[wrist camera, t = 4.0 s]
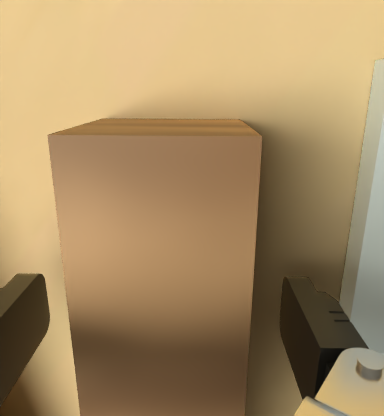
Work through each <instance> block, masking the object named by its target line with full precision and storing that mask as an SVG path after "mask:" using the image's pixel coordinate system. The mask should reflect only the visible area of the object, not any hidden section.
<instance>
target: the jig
mask: <svg viewBox="0 0 384 416" xmlns="http://www.w3.org/2000/svg"><path fill="white" fill-rule="evenodd" d="M339 304H340V306H341V307H342V309H343V310H344V313H346V315H347V316H348V318H349V319H350V322H352V324H353V325H354V327H355V328H356V330H357V331H358V333H359V334H360V336H361V337H362V339H363V340H364V342H365V343H366V345H367V346H368V348H369V349H370V350H373V351H376V352H378V353H381V354H383V355H384V59H379V60H375V65H374V72H373V78H372V85H371V92H370V99H369V105H368V112H367V119H366V126H365V132H364V139H363V146H362V152H361V159H360V166H359V173H358V179H357V186H356V193H355V199H354V206H353V213H352V220H351V226H350V233H349V240H348V246H347V253H346V260H345V267H344V273H343V280H342V287H341V294H340V300H339Z"/></svg>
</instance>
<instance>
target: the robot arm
mask: <svg viewBox="0 0 384 416" xmlns="http://www.w3.org/2000/svg"><path fill="white" fill-rule="evenodd" d="M49 321H50V313H49V306H48V298H47V291H46V284H45V278H44V276H43V275H42V274H17V275H16V276H15V277H14V278H13V279H12V280H11V281H10V282H9V283H8V284H7V285H6V286H5V287H4V288H0V407H1V405H2V403H3V402H4V400H5V399H6V397H7V395H8V394H9V392H10V391H11V389H12V387H13V386H14V384H15V383H16V381H17V379H18V378H19V376H20V375H21V373H22V371H23V370H24V368H25V367H26V365H27V363H28V362H29V360H30V359H31V357H32V355H33V354H34V352H35V351H36V349H37V347H38V346H39V344H40V343H41V341H42V339H43V338H44V336H45V335H46V333H47V330H48V327H49ZM280 332H281V337H282V340H283V343H284V346H285V349H286V352H287V355H288V358H289V361H290V364H291V367H292V370H293V373H294V375H295V378H296V381H297V384H298V387H299V390H300V393H301V396H302V399H303V401H302V403H301V404H300V406H299V408H298V409H297V411H296V413H295V414H294V416H384V355H383V354H381V353H378V352H376V351H373V350H370V349H369V348H368V346H367V345H366V343H365V342H364V340H363V339H362V337H361V336H360V334H359V333H358V331H357V330H356V328H355V327H354V325H353V324H352V322H350V319H349V318H348V316H347V315H346V313H344V310H343V309H342V307H341V306H340V304H339V303H338V301H337V300H335V299H334V298H333V297H331V296H330V295H328V294H327V293H326V292H317V291H316V289H315V288H314V286H313V284H312V282H311V281H310V279H309V278H308V277H285V278H284V280H283V286H282V298H281V309H280Z"/></svg>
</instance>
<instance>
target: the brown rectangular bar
mask: <svg viewBox="0 0 384 416" xmlns="http://www.w3.org/2000/svg"><path fill="white" fill-rule="evenodd" d="M48 143H49V151H50V160H51V168H52V177H53V185H54V194H55V202H56V211H57V219H58V228H59V237H60V245H61V254H62V262H63V271H64V279H65V288H66V296H67V305H68V313H69V322H70V330H71V339H72V348H73V356H74V365H75V373H76V382H77V390H78V399H79V407H80V416H245V404H246V388H247V372H248V356H249V341H250V325H251V309H252V293H253V277H254V261H255V245H256V230H257V214H258V198H259V182H260V166H261V150H262V136H261V135H260V134H258V133H257V132H256V131H255V130H253V129H252V128H251V127H249V126H248V125H247V124H245V123H244V122H243V121H241V120H236V119H100V120H96V121H93V122H90V123H86V124H83V125H80V126H76V127H73V128H69V129H66V130H63V131H59V132H56V133H53V134H49V135H48Z"/></svg>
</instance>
